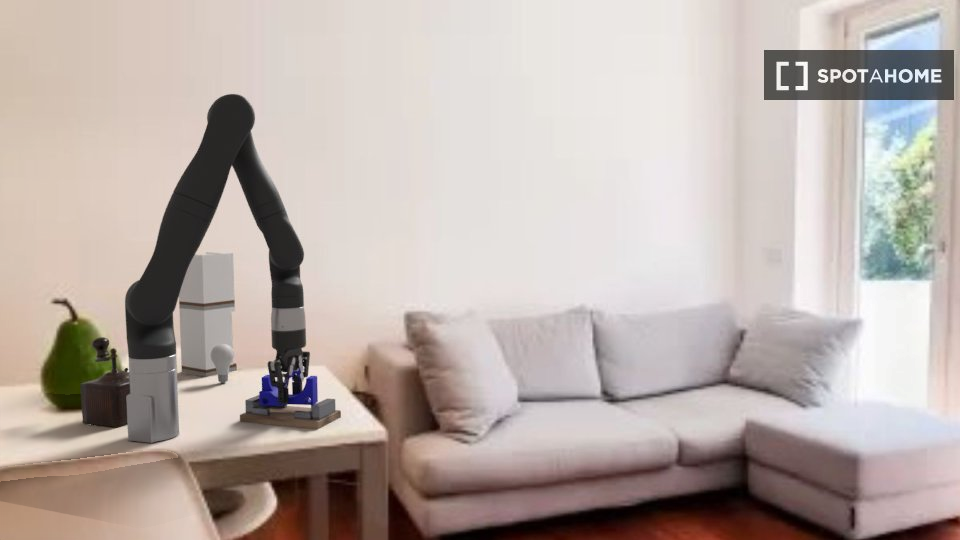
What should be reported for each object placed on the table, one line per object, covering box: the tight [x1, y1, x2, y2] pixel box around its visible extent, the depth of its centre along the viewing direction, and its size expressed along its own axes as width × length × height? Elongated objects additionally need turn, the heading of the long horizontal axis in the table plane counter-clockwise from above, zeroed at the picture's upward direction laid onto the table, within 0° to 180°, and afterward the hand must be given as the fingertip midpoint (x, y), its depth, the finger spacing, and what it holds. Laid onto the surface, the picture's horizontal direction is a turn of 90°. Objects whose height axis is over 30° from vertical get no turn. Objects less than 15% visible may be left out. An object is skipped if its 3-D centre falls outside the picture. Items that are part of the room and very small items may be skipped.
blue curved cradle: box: [258, 374, 319, 406], centre depth 172 cm, size 12×4×6 cm, turn 83°
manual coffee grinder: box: [80, 336, 130, 429], centre depth 173 cm, size 16×11×18 cm
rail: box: [239, 394, 342, 430], centre depth 172 cm, size 10×20×4 cm, turn 72°
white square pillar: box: [178, 251, 238, 378], centre depth 223 cm, size 11×11×35 cm
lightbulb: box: [211, 344, 235, 384], centre depth 208 cm, size 6×6×11 cm
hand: (290, 400), depth 172 cm, fingers closed on blue curved cradle, 5 cm apart
